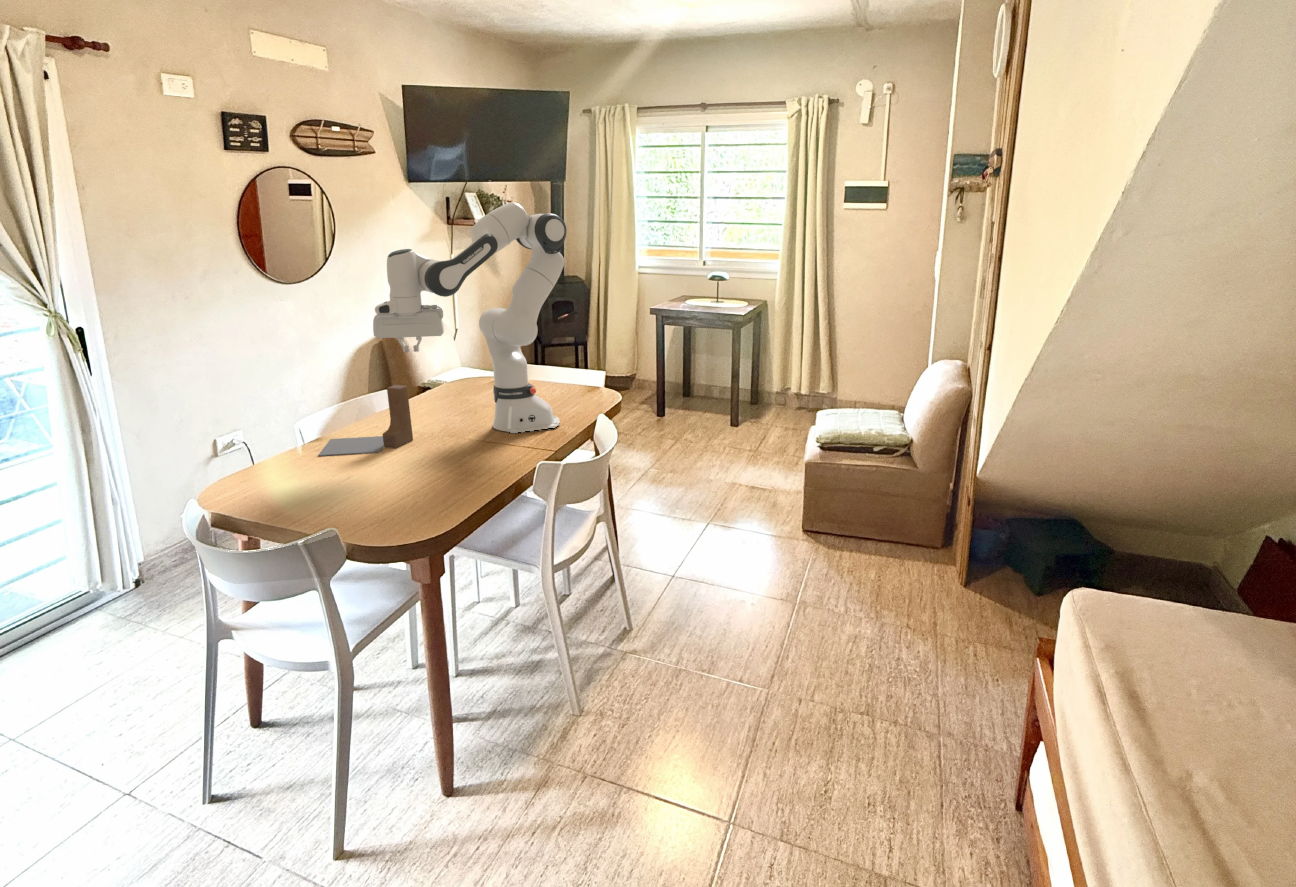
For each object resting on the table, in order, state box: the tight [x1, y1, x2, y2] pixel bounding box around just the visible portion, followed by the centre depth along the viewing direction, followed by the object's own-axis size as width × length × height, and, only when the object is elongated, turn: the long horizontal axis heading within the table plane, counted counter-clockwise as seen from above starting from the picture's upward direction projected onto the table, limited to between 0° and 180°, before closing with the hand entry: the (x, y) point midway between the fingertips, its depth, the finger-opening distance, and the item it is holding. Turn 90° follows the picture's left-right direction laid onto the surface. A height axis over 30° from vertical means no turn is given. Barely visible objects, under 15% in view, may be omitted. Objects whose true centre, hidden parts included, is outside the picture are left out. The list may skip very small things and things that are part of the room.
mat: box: [317, 435, 385, 457], centre depth 231 cm, size 18×16×1 cm
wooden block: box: [382, 384, 414, 449], centre depth 231 cm, size 9×4×18 cm, turn 160°
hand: (411, 351), depth 225 cm, fingers closed
